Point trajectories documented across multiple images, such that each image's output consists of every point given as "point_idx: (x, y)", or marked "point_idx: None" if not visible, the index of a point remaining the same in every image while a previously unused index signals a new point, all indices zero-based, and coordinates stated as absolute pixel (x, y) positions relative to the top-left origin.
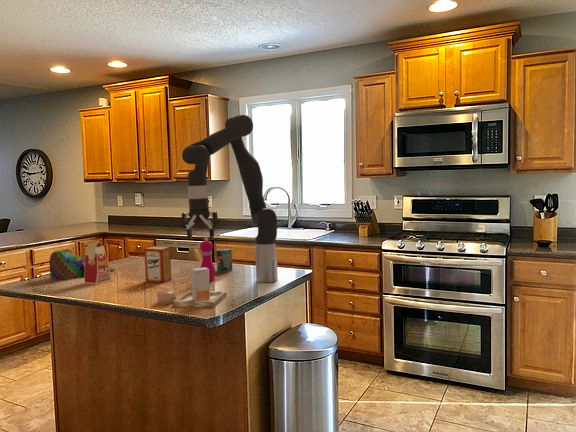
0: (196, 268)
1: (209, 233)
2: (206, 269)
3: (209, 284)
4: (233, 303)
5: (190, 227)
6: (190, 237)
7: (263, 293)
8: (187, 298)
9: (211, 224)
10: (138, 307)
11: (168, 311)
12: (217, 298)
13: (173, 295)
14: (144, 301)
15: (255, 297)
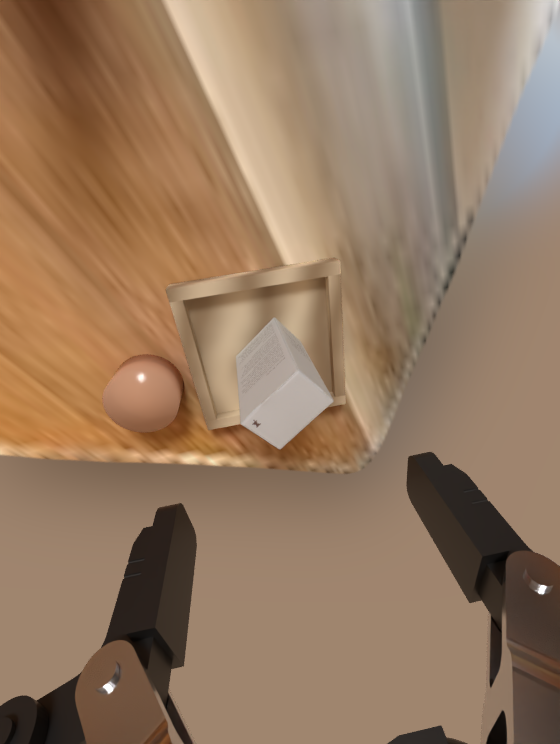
0: (262, 409)
1: (436, 544)
2: (323, 410)
3: (313, 365)
4: (387, 341)
5: (154, 686)
6: (194, 551)
7: (477, 166)
8: (211, 352)
9: (554, 638)
10: (108, 454)
11: (229, 458)
12: (342, 365)
13: (179, 401)
14: (60, 398)
15: (450, 245)
